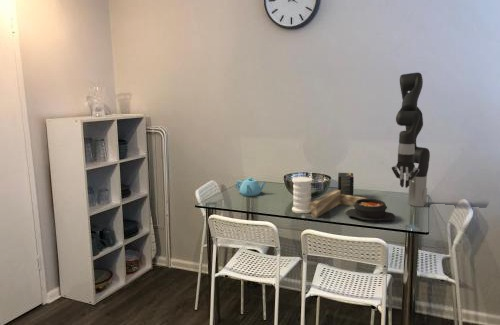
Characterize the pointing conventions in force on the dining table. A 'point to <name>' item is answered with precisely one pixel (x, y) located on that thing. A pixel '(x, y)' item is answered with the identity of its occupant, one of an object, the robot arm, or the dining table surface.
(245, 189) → the teapot
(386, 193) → the dining table surface
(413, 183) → the robot arm
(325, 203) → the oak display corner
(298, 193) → the decorative container
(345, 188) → the tampon box
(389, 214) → the casserole
